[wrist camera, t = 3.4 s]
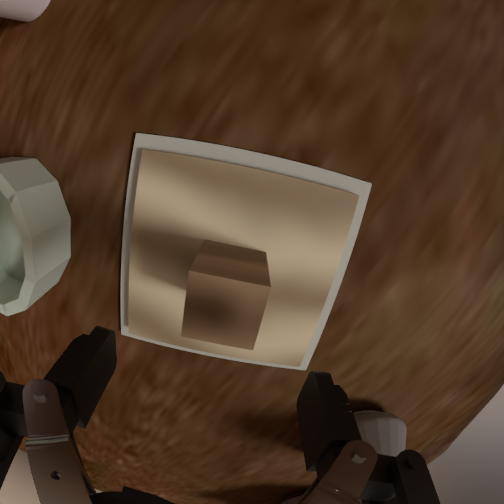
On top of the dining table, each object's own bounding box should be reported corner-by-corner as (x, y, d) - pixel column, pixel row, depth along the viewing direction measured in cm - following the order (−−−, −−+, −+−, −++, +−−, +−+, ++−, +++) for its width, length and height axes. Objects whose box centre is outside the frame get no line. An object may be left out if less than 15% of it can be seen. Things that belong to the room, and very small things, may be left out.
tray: (138, 133, 17) (136, 132, 17) (369, 182, 18) (371, 183, 18) (122, 331, 22) (121, 334, 22) (305, 367, 23) (305, 370, 23)
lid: (146, 149, 17) (105, 150, 12) (355, 193, 18) (394, 212, 13) (131, 328, 22) (105, 374, 16) (298, 360, 23) (308, 412, 17)
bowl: (-13, 155, 17) (-50, 162, 12) (75, 161, 17) (33, 168, 13) (-9, 271, 20) (-38, 291, 16) (73, 302, 21) (44, 333, 17)
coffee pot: (336, 394, 25) (373, 528, 11) (415, 400, 26) (463, 498, 12) (262, 480, 32) (264, 565, 18) (330, 482, 33) (343, 557, 19)
